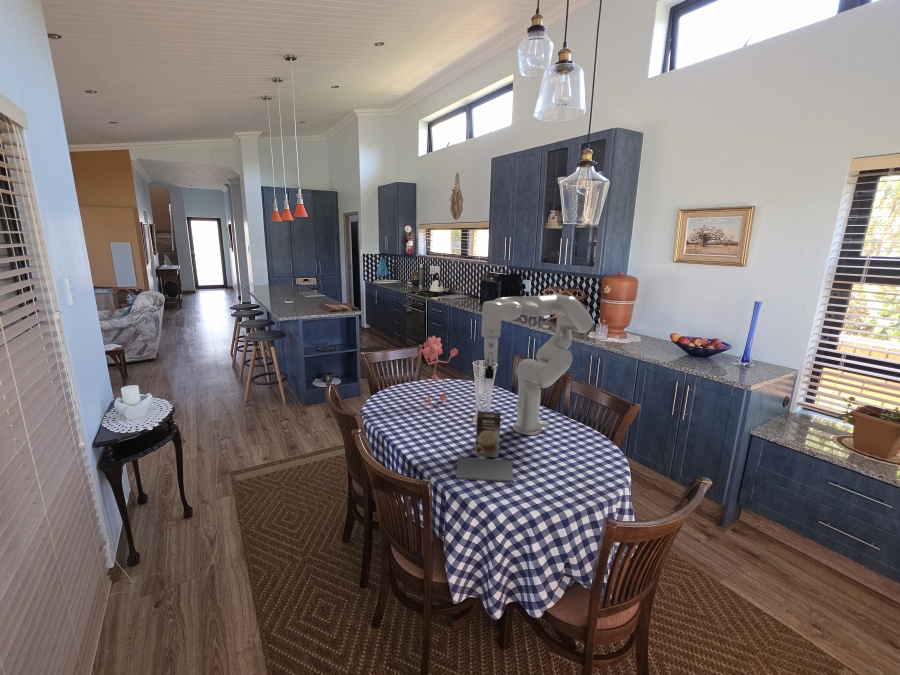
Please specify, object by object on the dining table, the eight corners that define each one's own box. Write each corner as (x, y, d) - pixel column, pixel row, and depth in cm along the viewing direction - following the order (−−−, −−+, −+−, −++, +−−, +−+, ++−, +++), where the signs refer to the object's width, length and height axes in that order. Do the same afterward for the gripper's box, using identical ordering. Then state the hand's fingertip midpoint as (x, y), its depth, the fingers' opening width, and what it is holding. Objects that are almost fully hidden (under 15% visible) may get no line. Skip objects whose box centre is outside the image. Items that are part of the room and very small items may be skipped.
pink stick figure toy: (461, 402, 223) (461, 335, 215) (420, 414, 206) (419, 342, 199) (441, 394, 234) (441, 330, 227) (401, 405, 218) (400, 336, 210)
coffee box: (474, 456, 168) (476, 417, 164) (475, 448, 174) (476, 410, 171) (498, 457, 167) (500, 418, 164) (498, 450, 173) (500, 411, 170)
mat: (511, 461, 164) (511, 460, 164) (513, 481, 151) (514, 480, 150) (457, 458, 165) (457, 457, 165) (455, 478, 152) (455, 477, 152)
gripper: (501, 337, 164) (499, 384, 168) (499, 329, 180) (497, 371, 184) (481, 336, 165) (479, 383, 169) (481, 328, 180) (479, 371, 184)
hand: (489, 377), depth 176 cm, fingers closed
